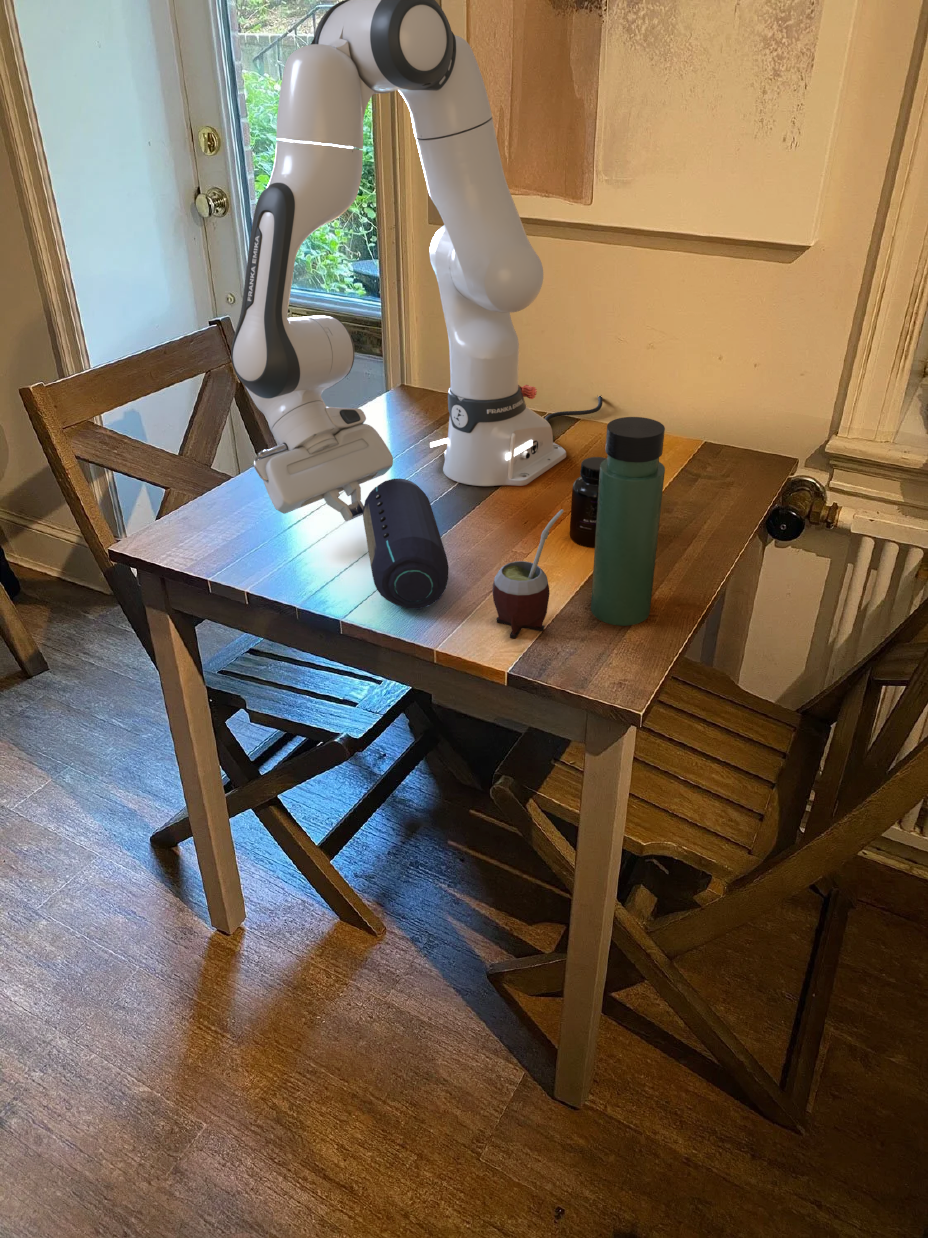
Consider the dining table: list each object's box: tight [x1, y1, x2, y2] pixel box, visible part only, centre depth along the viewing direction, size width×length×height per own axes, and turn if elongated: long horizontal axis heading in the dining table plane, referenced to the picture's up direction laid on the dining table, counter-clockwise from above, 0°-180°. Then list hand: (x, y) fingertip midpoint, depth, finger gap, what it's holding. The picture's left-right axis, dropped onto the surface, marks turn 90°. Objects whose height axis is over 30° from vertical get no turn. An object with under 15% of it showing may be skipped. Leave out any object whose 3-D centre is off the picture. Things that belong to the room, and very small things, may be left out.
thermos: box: [590, 416, 666, 627], centre depth 115 cm, size 8×8×25 cm
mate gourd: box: [491, 508, 565, 640], centre depth 115 cm, size 8×8×15 cm
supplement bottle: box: [569, 456, 607, 549], centre depth 135 cm, size 7×7×12 cm
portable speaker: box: [362, 478, 450, 610], centre depth 128 cm, size 25×10×10 cm, turn 9°
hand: (356, 516), depth 136 cm, fingers closed
